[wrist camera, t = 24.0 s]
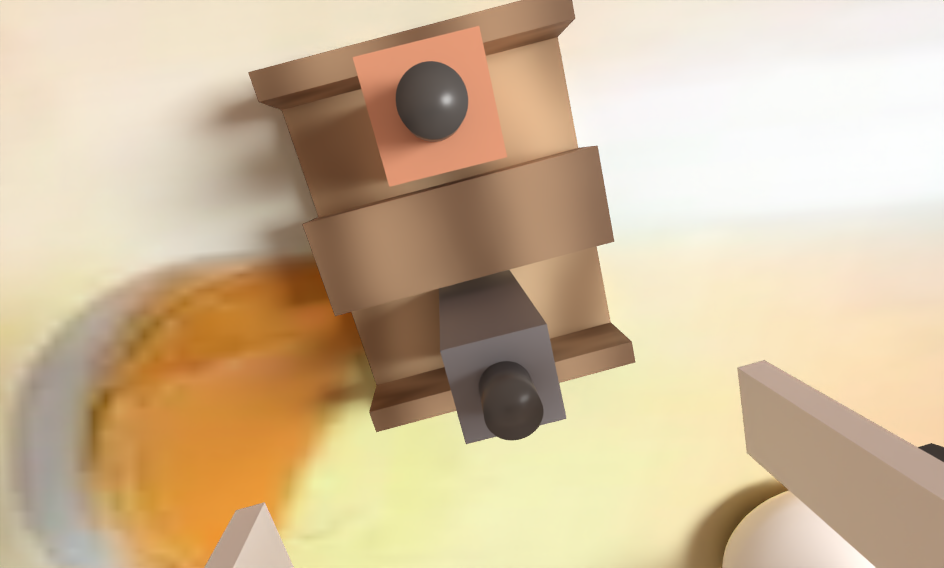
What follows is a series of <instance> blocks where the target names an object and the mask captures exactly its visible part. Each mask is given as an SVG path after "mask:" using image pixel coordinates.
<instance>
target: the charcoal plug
mask: <svg viewBox="0 0 944 568" xmlns="http://www.w3.org/2000/svg"><path fill="white" fill-rule="evenodd" d="M439 321H440V353H441V356H442V360H443V363H444V367H445V371H446V374H447V378H448V381H449V385H450V388H451V392H452V396H453V399H454V403H455V406H456V410H457V414H458V417H459V421H460V424H461V428H462V432H463V435H464V439H465V442H466V444H469V443H473V442H476V441H480V440H484V439H488V438H492V437H496V436H497V437H499V438H501V439H505V440H519V439H522V438H525V437H527V436H529V435H531V434H532V433H533V432H534V431H535V430H536V429H537V428H538V427H539V425H543V424H547V423H551V422H555V421H559V420H563V419H566V414H565V409H564V404H563V400H562V395H561V390H560V385H559V380H558V375H557V371H556V366H555V361H554V356H553V351H552V347H551V342H550V337H549V332H548V327H547V323H546V322H545V321H544V319H543V318H542V316H541V315H540V313H539V312H538V310H537V309H536V307H535V306H534V305H533V303H532V302H531V300H530V299H529V297H528V296H527V294H526V293H525V292H524V290H523V289H522V287H521V286H520V284H519V283H518V281H517V280H516V278H515V277H514V276H513V274H512V273H511V271H510V270H506V271H502V272H499V273H495V274H491V275H487V276H484V277H480V278H476V279H472V280H469V281H465V282H461V283H457V284H454V285H450V286H446V287H442V288H439Z"/></svg>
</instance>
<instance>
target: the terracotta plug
mask: <svg viewBox="0 0 944 568" xmlns="http://www.w3.org/2000/svg"><path fill="white" fill-rule="evenodd" d="M353 61H354V64H355V68H356V71H357V75H358V78H359V82H360V85H361V89H362V92H363V96H364V99H365V103H366V106H367V110H368V113H369V117H370V120H371V124H372V128H373V131H374V135H375V138H376V142H377V145H378V149H379V152H380V156H381V159H382V163H383V166H384V170H385V173H386V177H387V180H388V184H389V187H391V186H395V185H399V184H403V183H407V182H410V181H414V180H418V179H422V178H426V177H430V176H434V175H438V174H442V173H446V172H450V171H454V170H458V169H462V168H466V167H470V166H474V165H478V164H482V163H486V162H490V161H494V160H498V159H502V158H506V157H507V153H506V149H505V144H504V139H503V135H502V130H501V125H500V121H499V116H498V111H497V107H496V102H495V97H494V92H493V88H492V83H491V78H490V74H489V69H488V64H487V60H486V55H485V50H484V46H483V41H482V36H481V32H480V27H479V26H476V27H472V28H468V29H464V30H460V31H456V32H452V33H448V34H444V35H440V36H436V37H432V38H427V39H423V40H419V41H415V42H411V43H407V44H403V45H399V46H395V47H391V48H387V49H383V50H379V51H375V52H371V53H367V54H363V55H359V56H355V57H353Z"/></svg>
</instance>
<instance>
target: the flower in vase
mask: <svg viewBox="0 0 944 568" xmlns="http://www.w3.org/2000/svg"><path fill="white" fill-rule="evenodd" d="M722 568H876V567H875V566H874V565H872V564H871V563H870V562H869V561H868V560H867V559H866V558H865V557H863V556H862V555H861V554H860V553H859V552H858V551H857V550H856V549H854V548H853V547H852V546H851V545H850V544H849V543H848V542H847V541H845V540H844V539H843V538H842V537H841V536H840V535H839V534H838V533H836V532H835V531H834V530H833V529H832V528H831V527H830V526H829V525H827V524H826V523H825V522H824V521H823V520H822V519H821V518H820V517H818V516H817V515H816V514H815V513H814V512H813V511H812V510H811V509H809V508H808V507H807V506H806V505H805V504H804V503H803V502H802V501H800V500H799V499H798V498H797V497H796V496H795V495H794V494H793V493H791V492H790V491H786V492H783V493H780V494H778V495H776V496H774V497H772V498H770V499H768V500H766V501H765V502H763V503H761V504H760V505H759V506H757V507H756V508H754V509H753V510H752V511H751V512H750V513H749V514H748V515H746V516H745V518H744V519H743V520H742V521H741V522H740V523H739V524H738V526H737V527H736V528H735V530H734V531H733V533H732V535H731V537H730V538H729V540H728V543H727V545H726V548H725V552H724V556H723V564H722Z"/></svg>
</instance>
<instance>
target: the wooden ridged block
mask: <svg viewBox="0 0 944 568" xmlns="http://www.w3.org/2000/svg"><path fill="white" fill-rule="evenodd" d="M574 19H575V14H574V9H573V3H572V0H521V1H517V2H513V3H509V4H506V5H502V6H498V7H494V8H490V9H487V10H483V11H479V12H475V13H472V14H468V15H464V16H460V17H456V18H453V19H449V20H445V21H441V22H437V23H434V24H430V25H426V26H422V27H418V28H415V29H411V30H407V31H403V32H399V33H396V34H392V35H388V36H384V37H381V38H377V39H373V40H369V41H365V42H362V43H358V44H354V45H350V46H346V47H343V48H339V49H335V50H331V51H327V52H324V53H320V54H316V55H312V56H309V57H305V58H301V59H297V60H293V61H290V62H286V63H282V64H278V65H274V66H271V67H267V68H263V69H259V70H255V71H252V72H248V73H249V76H250V79H251V81H252V84H253V87H254V90H255V93H256V95H257V98H258V101H259V102H260V103H263V104H266V105H269V106H272V107H275V108H278V109H280V110H282V112H283V115H284V118H285V121H286V124H287V127H288V130H289V133H290V136H291V138H292V141H293V144H294V147H295V150H296V153H297V156H298V159H299V162H300V165H301V167H302V170H303V173H304V176H305V179H306V182H307V185H308V188H309V191H310V194H311V196H312V199H313V202H314V205H315V208H316V211H317V214H318V217H317V218H315V219H313V220H311V221H309V222H306V223H304V224H302V225H303V227H304V230H305V233H306V236H307V239H308V241H309V244H310V247H311V250H312V253H313V255H314V258H315V261H316V264H317V267H318V270H319V272H320V275H321V278H322V281H323V284H324V286H325V289H326V292H327V295H328V298H329V300H330V303H331V306H332V309H333V312H334V314H335V316H338V315H342V314H345V313H349V312H352V315H353V318H354V321H355V324H356V327H357V330H358V333H359V336H360V338H361V341H362V344H363V347H364V350H365V353H366V356H367V359H368V362H369V365H370V367H371V370H372V373H373V376H374V379H375V382H376V385H377V386H376V390H375V393H374V397H373V401H372V404H371V408H370V412H369V413H370V416H371V418H372V421H373V424H374V427H375V430H376V432H379V431H382V430H386V429H390V428H393V427H397V426H401V425H405V424H408V423H412V422H416V421H419V420H423V419H427V418H431V417H434V416H438V415H442V414H445V413H449V412H453V411H456V406H455V403H454V399H453V396H452V392H451V388H450V385H449V381H448V378H447V374H446V371H445V367H444V363H443V360H442V356H441V353H440V321H439V288H442V287H446V286H450V285H454V284H457V283H461V282H465V281H469V280H472V279H476V278H480V277H484V276H487V275H491V274H495V273H499V272H502V271H506V270H510V271H511V273H512V274H513V276H514V277H515V278H516V280H517V281H518V283H519V284H520V286H521V287H522V289H523V290H524V292H525V293H526V294H527V296H528V297H529V299H530V300H531V302H532V303H533V305H534V306H535V307H536V309H537V310H538V312H539V313H540V315H541V316H542V318H543V319H544V321H545V322H546V323H547V327H548V332H549V337H550V342H551V347H552V351H553V356H554V361H555V366H556V371H557V375H558V380H559V383H560V382H564V381H568V380H572V379H575V378H579V377H583V376H586V375H590V374H594V373H597V372H601V371H605V370H609V369H612V368H616V367H620V366H623V365H627V364H631V363H635V357H634V352H633V346H632V341H630V340H629V339H628V338H627V337H626V336H625V335H624V334H623V333H622V332H621V331H620V330H618V329H617V328H616V327H615V326H614V325H613V324H612V323H611V322H610V317H609V311H608V306H607V300H606V295H605V290H604V284H603V279H602V273H601V268H600V263H599V257H598V252H597V247H596V246H599V245H603V244H607V243H611V242H614V237H613V232H612V226H611V220H610V215H609V209H608V203H607V197H606V192H605V186H604V180H603V174H602V169H601V163H600V157H599V152H598V146H591V147H582V148H578V144H577V139H576V134H575V128H574V123H573V118H572V112H571V107H570V101H569V96H568V91H567V85H566V80H565V74H564V69H563V64H562V58H561V53H560V48H559V42H558V36H559V35H560V34H561V33H562V32H563V31H564V30H565V29H566V28H567V26H568V25H569V24H570V23H571V22H572V21H573V20H574ZM476 26H479V27H480V32H481V36H482V41H483V46H484V50H485V55H486V60H487V64H488V69H489V74H490V78H491V83H492V88H493V92H494V97H495V102H496V107H497V111H498V116H499V121H500V125H501V130H502V135H503V139H504V144H505V149H506V153H507V157H506V158H502V159H498V160H494V161H490V162H486V163H482V164H478V165H474V166H470V167H466V168H462V169H458V170H454V171H450V172H446V173H442V174H438V175H434V176H430V177H426V178H422V179H418V180H414V181H410V182H407V183H403V184H399V185H395V186H391V187H389V184H388V180H387V177H386V173H385V170H384V166H383V163H382V159H381V156H380V152H379V149H378V145H377V142H376V138H375V135H374V131H373V128H372V124H371V120H370V117H369V113H368V110H367V106H366V103H365V99H364V96H363V92H362V89H361V85H360V82H359V78H358V75H357V71H356V68H355V64H354V61H353V57H355V56H359V55H363V54H367V53H371V52H375V51H379V50H383V49H387V48H391V47H395V46H399V45H403V44H407V43H411V42H415V41H419V40H423V39H427V38H432V37H436V36H440V35H444V34H448V33H452V32H456V31H460V30H464V29H468V28H472V27H476Z"/></svg>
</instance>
